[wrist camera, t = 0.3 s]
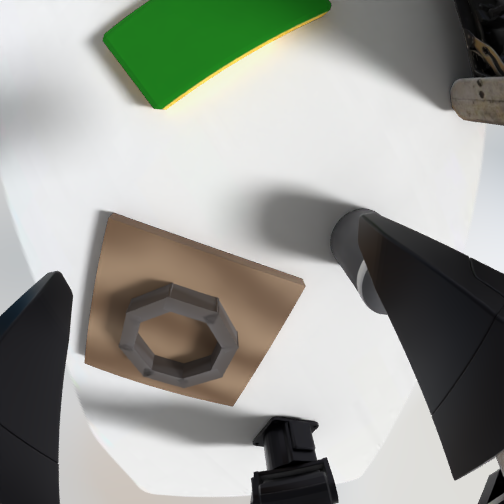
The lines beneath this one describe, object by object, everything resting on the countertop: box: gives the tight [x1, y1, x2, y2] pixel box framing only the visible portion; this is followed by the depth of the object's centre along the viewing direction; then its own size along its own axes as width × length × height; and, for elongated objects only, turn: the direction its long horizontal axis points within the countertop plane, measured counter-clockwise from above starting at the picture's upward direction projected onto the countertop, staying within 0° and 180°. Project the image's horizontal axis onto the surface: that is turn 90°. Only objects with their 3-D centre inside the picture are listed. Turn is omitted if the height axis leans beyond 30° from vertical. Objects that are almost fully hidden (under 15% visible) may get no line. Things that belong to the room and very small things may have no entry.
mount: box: [85, 213, 305, 406], centre depth 26 cm, size 16×16×3 cm
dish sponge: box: [103, 0, 331, 110], centre depth 17 cm, size 7×14×2 cm, turn 123°
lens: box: [331, 209, 387, 315], centre depth 22 cm, size 5×5×7 cm
